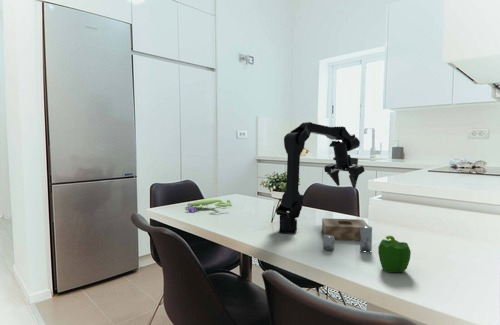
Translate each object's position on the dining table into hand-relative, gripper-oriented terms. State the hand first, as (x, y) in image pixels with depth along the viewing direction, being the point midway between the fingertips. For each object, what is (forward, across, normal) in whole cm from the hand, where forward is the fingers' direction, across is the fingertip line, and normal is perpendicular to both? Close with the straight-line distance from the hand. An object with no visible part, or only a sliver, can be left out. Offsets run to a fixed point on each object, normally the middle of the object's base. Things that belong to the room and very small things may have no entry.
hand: (346, 186), depth 146 cm
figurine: (+5, +56, +45) cm, 72 cm away
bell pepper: (+7, -46, +37) cm, 59 cm away
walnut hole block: (+10, -16, +23) cm, 30 cm away
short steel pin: (+6, -24, +40) cm, 47 cm away
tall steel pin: (+8, -32, +31) cm, 45 cm away
